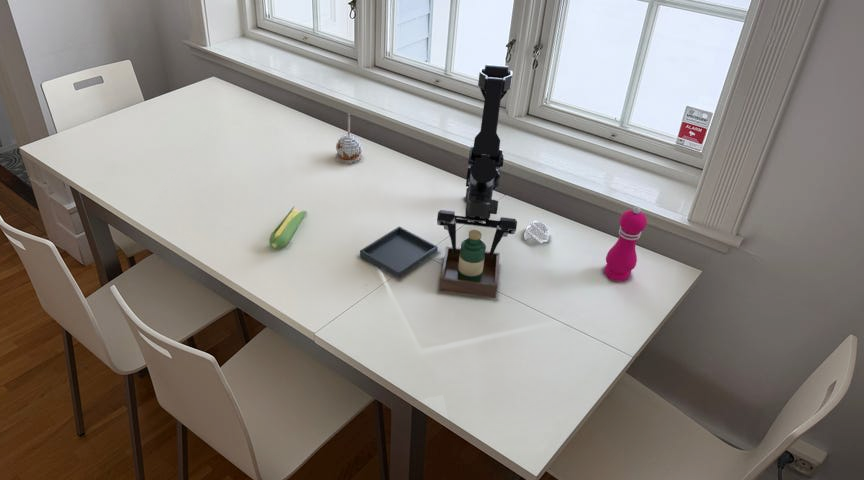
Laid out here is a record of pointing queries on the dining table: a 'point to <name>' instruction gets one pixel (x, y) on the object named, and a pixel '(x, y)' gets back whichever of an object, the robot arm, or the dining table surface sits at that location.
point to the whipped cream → (537, 232)
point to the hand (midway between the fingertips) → (471, 257)
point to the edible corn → (286, 229)
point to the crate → (481, 288)
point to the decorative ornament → (348, 147)
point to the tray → (398, 251)
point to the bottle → (471, 257)
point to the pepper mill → (625, 246)
